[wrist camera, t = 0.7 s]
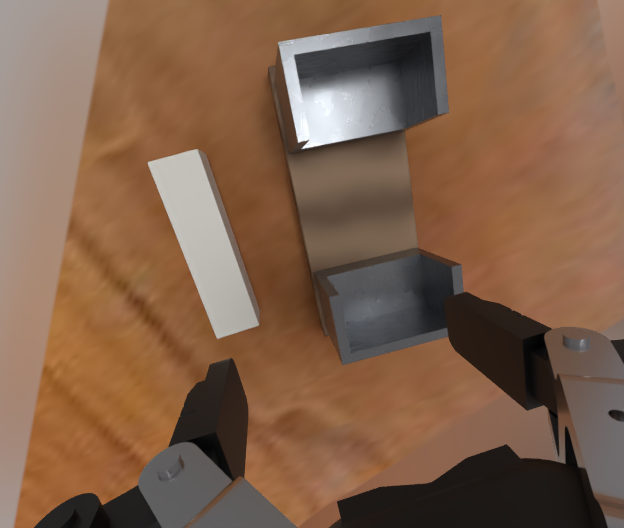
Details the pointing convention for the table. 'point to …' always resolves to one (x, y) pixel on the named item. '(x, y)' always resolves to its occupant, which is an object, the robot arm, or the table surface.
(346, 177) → the plank
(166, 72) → the table surface
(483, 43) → the table surface
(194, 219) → the block
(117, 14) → the table surface
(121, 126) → the table surface
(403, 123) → the grey boxes
